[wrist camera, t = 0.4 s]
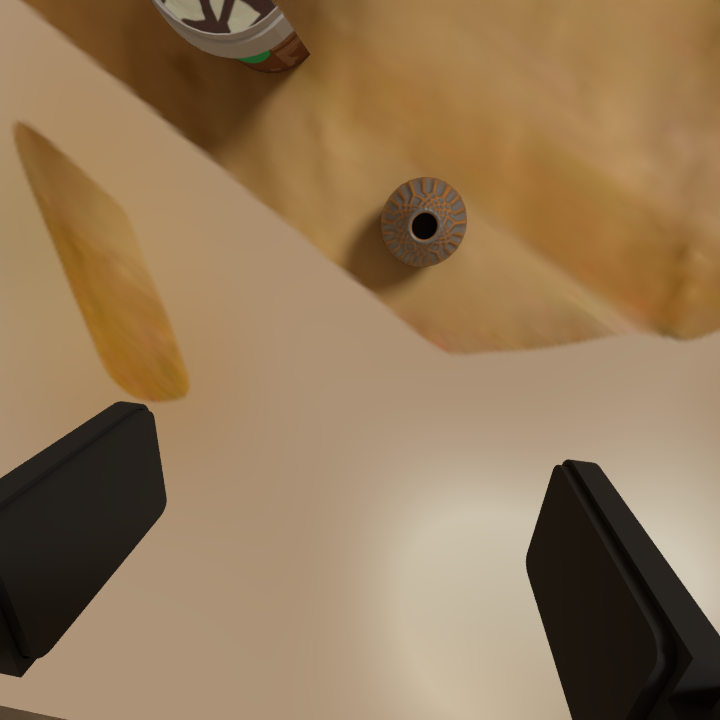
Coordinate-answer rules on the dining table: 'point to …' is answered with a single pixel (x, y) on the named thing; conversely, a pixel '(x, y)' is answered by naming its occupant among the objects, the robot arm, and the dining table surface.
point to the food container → (237, 31)
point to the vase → (423, 222)
